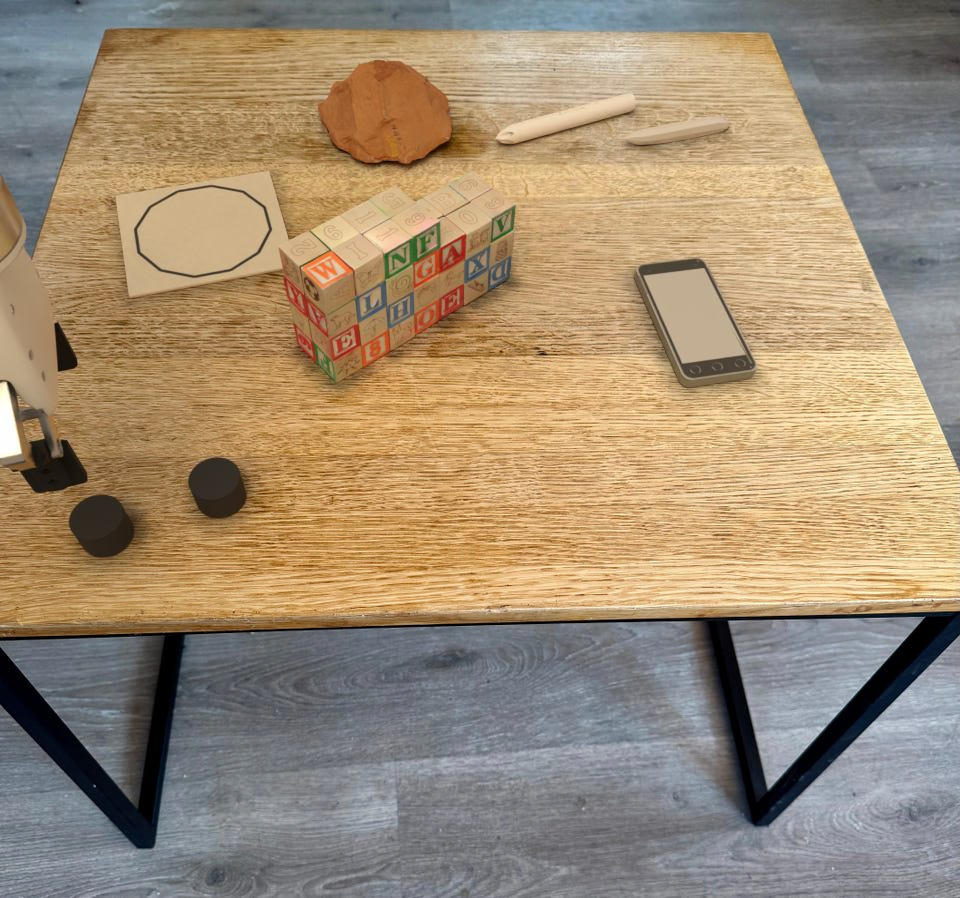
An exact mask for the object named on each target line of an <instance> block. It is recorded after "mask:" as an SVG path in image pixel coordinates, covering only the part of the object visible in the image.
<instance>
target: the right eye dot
mask: <svg viewBox="0 0 960 898" xmlns="http://www.w3.org/2000/svg"><path fill="white" fill-rule="evenodd" d="M187 484H188V488H189V491H190V492H191V495H192V497H193V499H194V502H195V504H196V507H197V508H198V511H200V513H201V514H202V515H204V516H206V517H208V518H212V519H226V518H229V517H231V516H233V515H235V514H237V513H238V512H239V511H240V510H241V509H242V508H243V506H244V505H245V503H246V500H247V490H246V487H245V484H244V480H243V478H242V475H241V472H240V469H239V467H238V465H237V464H236V463H235V462H234V461H232V460H230V459H229V458H226V457H221V456H215V457H208V458H206V459H204V460H202V461H200V462H198V463H197V464H196V465H195V466H194V467H193V468H192V470H191V471H190V473H189V475H188V478H187Z"/></svg>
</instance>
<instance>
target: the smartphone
mask: <svg viewBox="0 0 960 898" xmlns="http://www.w3.org/2000/svg"><path fill="white" fill-rule="evenodd" d="M633 278H634V281H635V284H636V286H637V288H638V290H639V293H640V295H641V297H642V300H643V302H644V304H645V306H646V309H647V311H648V314H649V315H650V316H649V317H650V318H651V321H652V323H653V326H654V328H655V331H656V332H657V334H658V337H659V339H660V341H661V343H662V345H663V348H664V350H665V352H666V355H667V357H668V360H669V362H670V364H671V366H672V368H673V371H674V373H675V375H676V378H677V381H678V382H679V384H680V385H682V386H683V387H685V388H693V387H695V388H696V387H700V386H708V385H715V384H721V383H728V382H729V383H730V382H736V381H741V380H748V379H751V378H753V377H754V374H755V373H756V371H757V369H758V363H757V360H756V358H755V356H754V354H753V352H752V351H751V349H750V346H749V345H748V343H747V341H746V339H745V337H744V334H743V333H742V331H741V329H740V327H739V325H738V323H737V321H736V319H735V317H734V315H733V312H732V311H731V310H730V309H731V308H730V307H729V305H728V302H727V301H726V299H725V297H724V295H723V294H722V291H721V289H720V288H719V285H718V284H717V282H716V279H715V277H714V276H713V273H712V272H711V270H710V268H709V265H708V263H707V262H706V261H705V259H702V258H701V257H691V258H690V257H689V258H682V259H673V260H667V261H659V262H651V263H649V262H648V263H642V264H639V265H637V267H636V269H635V273H634V276H633Z"/></svg>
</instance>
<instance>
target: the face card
mask: <svg viewBox="0 0 960 898" xmlns="http://www.w3.org/2000/svg"><path fill="white" fill-rule="evenodd" d="M114 197H115V204H116V205H115V206H116V212H117V219H118V227H119V233H120V234H119V235H120V240H121V247H122V249H121V250H122V255H123V263H124V271H125V278H126V285H127V292H128V299H135V298H141V297H147V296H151V295H157V294H162V293H163V294H164V293H167V292H173V291H178V290H183V289H188V288H195V287H200V286H204V285H211V284H215V283H222V282H226V281H227V282H228V281H231V280H232V281H233V280H238V279H243V278H248V277H253V276H259V275H265V274H269V273H276V272H281V271H283V267H282V262H281V257H280V253H279V246H280V245H281V244H283V243H285V242H287V241H289V240H290V238H289V234H288V231H287V228H286V224H285V221H284V218H283V215H282V214H283V213H282V211H281V207H280V204H279V200H278V197H277V193H276V189H275V186H274V183H273V179H272V176H271V173H270V170H266V171H259V172H252V173H247V174H241V175H235V176H234V175H233V176H228V177H222V178H221V177H220V178H216V179H215V178H214V179H210V180H204V181H197V182H190V183H184V184H179V185H173V186H167V187H166V186H165V187H160V188H154V189H148V190H141V191H135V192H129V193H123V194H116V195H115V196H114Z"/></svg>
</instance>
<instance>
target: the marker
mask: <svg viewBox="0 0 960 898" xmlns="http://www.w3.org/2000/svg"><path fill="white" fill-rule="evenodd" d="M636 105H637V99H636V97H635V94H634V93H632V92H627V93H623V94H619V95H615V96H612V97H607V98H604V99H600V100H599V99H598V100H597V101H592V102H589V103H585V104H581V105H578V106H574V107H570V108H567V109H563V110H559V111H556V112H551V113H547V114H544V115H540V116H537V117H533V118H530V119H526V120H523V121H518V122H515V123H511V124H509V125H507V126H505V127H504V128H503V129H502V130H501V131H499V132H498V134H497V135H496V136H495V141H497V142H499V143H501V144H508V145H511V144H518V143H522V142H525V141H529V140H533V139H536V138H540V137H545V136H547V135H551V134H555V133H558V132H563V131H565V130H568V129H572V128H576V127H580V126H584V125H587V124H592V123H595V122H598V121H602V120H605V119H610V118H612V117H616V116H619V115H620V116H621V115H623V114H628V113H631V112H632V111H634V110H635V109H636V107H637V106H636Z"/></svg>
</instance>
